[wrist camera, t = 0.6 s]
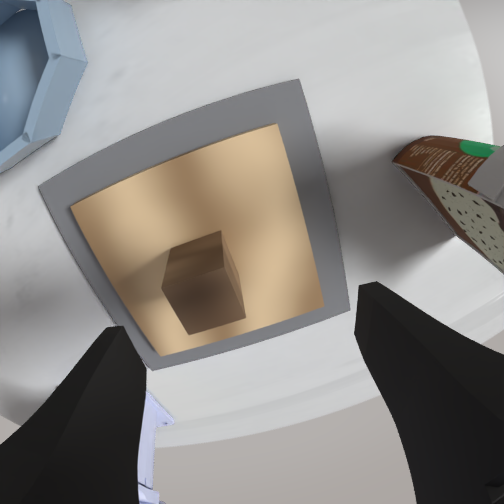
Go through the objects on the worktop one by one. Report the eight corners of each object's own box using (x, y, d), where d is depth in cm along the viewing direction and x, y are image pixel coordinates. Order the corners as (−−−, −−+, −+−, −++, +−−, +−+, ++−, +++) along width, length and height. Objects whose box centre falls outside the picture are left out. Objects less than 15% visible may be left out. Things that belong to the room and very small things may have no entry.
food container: (499, 190, 19) (585, 241, 10) (462, 244, 21) (543, 313, 12) (424, 79, 15) (553, 92, 6) (376, 147, 17) (503, 201, 8)
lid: (161, 349, 21) (155, 400, 17) (75, 202, 15) (36, 236, 11) (321, 299, 21) (345, 347, 16) (274, 122, 15) (298, 129, 11)
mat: (152, 367, 22) (151, 371, 22) (41, 184, 15) (38, 186, 14) (348, 306, 22) (350, 310, 21) (297, 79, 14) (299, 78, 14)
